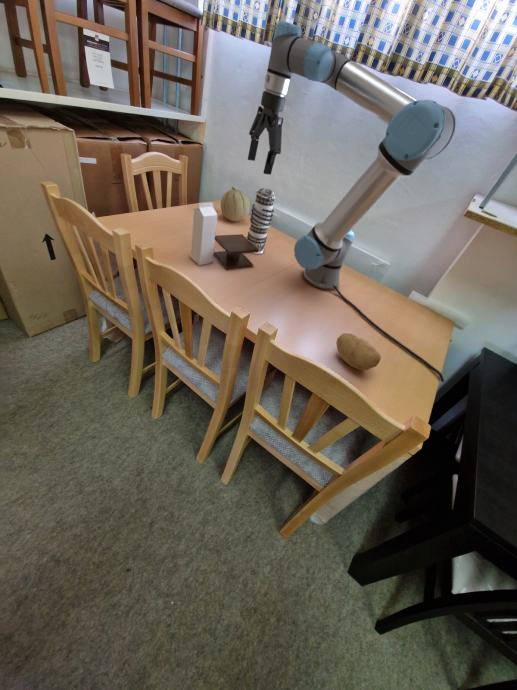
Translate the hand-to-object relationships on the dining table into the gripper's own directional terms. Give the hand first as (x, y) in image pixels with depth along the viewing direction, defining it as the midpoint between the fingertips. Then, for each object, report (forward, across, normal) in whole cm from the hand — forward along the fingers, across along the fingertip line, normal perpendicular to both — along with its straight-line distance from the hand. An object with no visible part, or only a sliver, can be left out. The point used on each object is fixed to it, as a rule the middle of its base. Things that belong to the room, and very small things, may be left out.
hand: (258, 166), depth 108 cm
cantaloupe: (+34, -29, +8) cm, 45 cm away
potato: (+30, +72, +6) cm, 78 cm away
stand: (+33, +10, -8) cm, 35 cm away
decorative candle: (+33, +2, +6) cm, 33 cm away
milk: (+33, +9, -21) cm, 40 cm away
